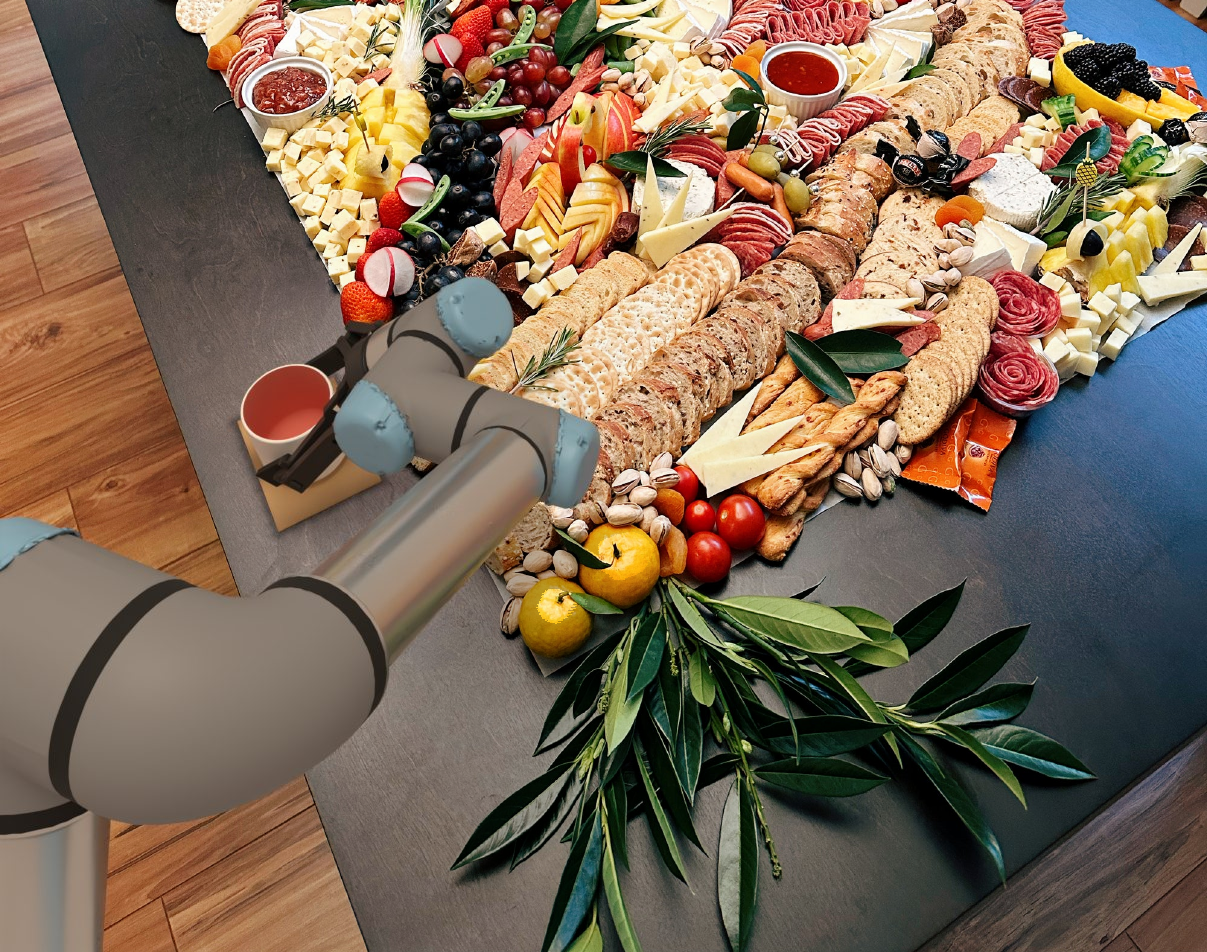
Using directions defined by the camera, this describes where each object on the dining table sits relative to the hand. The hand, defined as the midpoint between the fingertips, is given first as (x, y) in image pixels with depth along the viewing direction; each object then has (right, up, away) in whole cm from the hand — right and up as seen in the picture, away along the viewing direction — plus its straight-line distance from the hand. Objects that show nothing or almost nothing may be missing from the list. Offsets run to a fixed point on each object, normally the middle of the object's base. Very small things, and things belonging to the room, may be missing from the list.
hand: (290, 423), depth 128 cm
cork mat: (+1, -4, +4) cm, 6 cm away
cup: (+1, -4, +4) cm, 6 cm away
